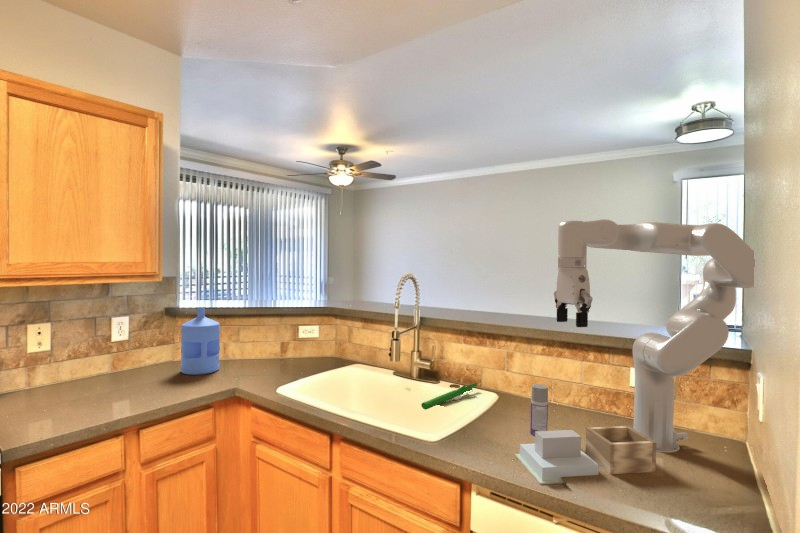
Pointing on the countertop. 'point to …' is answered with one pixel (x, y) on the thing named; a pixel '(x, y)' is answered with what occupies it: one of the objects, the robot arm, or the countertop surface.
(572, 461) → the lid
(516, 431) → the countertop surface
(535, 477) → the mat
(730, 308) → the robot arm
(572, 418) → the countertop surface
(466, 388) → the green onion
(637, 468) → the box
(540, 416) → the container
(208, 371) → the water jug
